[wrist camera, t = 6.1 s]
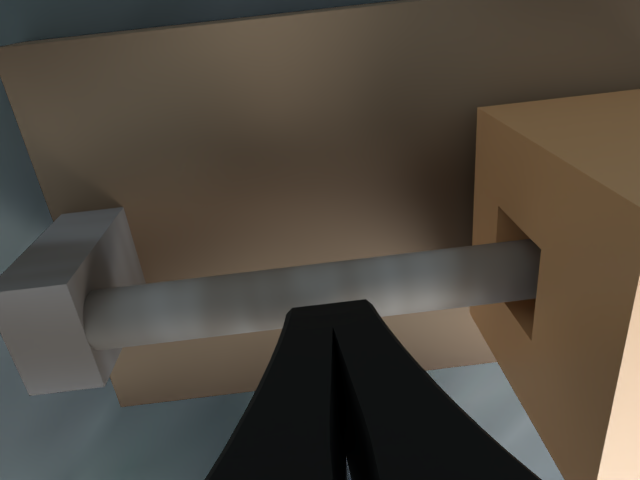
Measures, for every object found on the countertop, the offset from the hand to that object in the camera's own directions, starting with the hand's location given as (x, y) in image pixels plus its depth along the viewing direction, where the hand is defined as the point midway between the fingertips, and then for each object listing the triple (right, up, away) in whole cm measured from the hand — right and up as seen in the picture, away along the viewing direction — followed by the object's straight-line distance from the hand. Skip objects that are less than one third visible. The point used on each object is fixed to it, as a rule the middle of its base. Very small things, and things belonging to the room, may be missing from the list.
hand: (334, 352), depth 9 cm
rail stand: (+3, +3, +6) cm, 7 cm away
